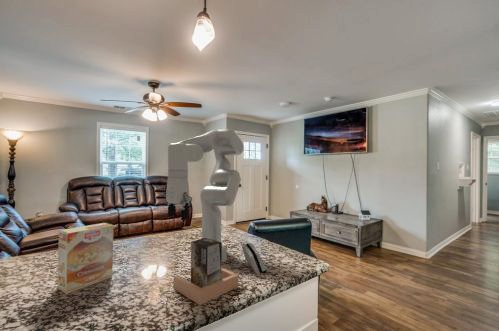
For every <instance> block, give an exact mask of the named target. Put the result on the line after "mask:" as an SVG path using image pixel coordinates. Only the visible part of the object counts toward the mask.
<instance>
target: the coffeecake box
mask: <svg viewBox="0 0 499 331" xmlns="http://www.w3.org/2000/svg"><path fill="white" fill-rule="evenodd" d="M57 251H58V257H57V260H58V261H57V262H58V264H57V289H58V290H60V291H61V292H63V293H64V294H65V295H68V294H70V293H73V292H76V291H79V290H81V289H84V288H86V287H87V288H88V287H89V286H92V285H95V284H97V283H100V282H103V281H106V280H108V279H111V278H113V264H114V261H113V260H114V259H113V258H114V256H113V255H114V224H111V223H108V222H101V223H95V224H90V225H84V226H78V227H72V228H66V229H59V230H58V250H57Z"/></svg>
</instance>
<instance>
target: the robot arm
mask: <svg viewBox="0 0 499 331" xmlns="http://www.w3.org/2000/svg"><path fill="white" fill-rule="evenodd" d="M167 146H168V147H167V181H166V191H165V193H166V194H165V199H166V200H165V202H166V203H167V204H166V205H167V216H168V217H175V216H176V215H177V214H176V213H177V212H176V211H177V207H176V205H177V206H178V205H180V208H181V210H180V221H187V220H190V208H191V206H192V201H193V198H192V197H191V196H190V188H189V187H190V185H189V179H188V178H189V176H188V175H189V163H196V162H200V161H201V160H202V158H203V157H204V154H206V153H210V152H211V151H213V152H214V157H215V165H214V168H213V170H212V172H211V174H210V178H209V184H210V185H209V186H208V185H207V186H204V187H203V188H202V189H201V190H200V203H201V209H202V210H201V213H202V214H201V238H200V239H202V238H208V239H212V240H215V241H219V242H222V212H221V209H220V207H230V206H232V205H233V204H234V203H235V200H236V197H237V194H238V192H239V191H238V190H239V188H240V184H241V175H240V172H239V171H238V170H236V169H231V167H232V163H231V161H230V160H229V159H228V157H227V156H238V155H242V154H243V152H244V149H245V148H244V143H243V141H242V139H241V138H240V137H239V136H238V134H237V133H236V132H235V131H234V130H233V129H231V128H217V129H213V130H210V131H208V132H206V133H203V134H202V135H198V136H195V137H191V138H187V139H184V140H181V141H179V142H174V143H169V144H168V145H167ZM219 206H220V207H219ZM222 246H224V245H223V244H222Z"/></svg>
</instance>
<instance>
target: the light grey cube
mask: <svg viewBox="0 0 499 331" xmlns="http://www.w3.org/2000/svg"><path fill="white" fill-rule="evenodd" d="M227 255H228V247H227V246H224V245H223V246H222V263H225V262H227V259H228V258H227Z"/></svg>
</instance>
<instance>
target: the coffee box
mask: <svg viewBox="0 0 499 331" xmlns="http://www.w3.org/2000/svg"><path fill="white" fill-rule="evenodd" d="M201 238H202V237H201ZM201 238H200V239H196V240H191V241H190V282H191V283H193V284H195V285H196V286H198V287H200V288H203V287H205V286H208V285H210V284H212V283H215V282H217V281H219V280H221V279H222V268H223V267H222V266H223V265H222V263H223V262H222V245H223V242H222V241H221V242H219V241H215V240H212V239H208V238H202V239H201Z"/></svg>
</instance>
